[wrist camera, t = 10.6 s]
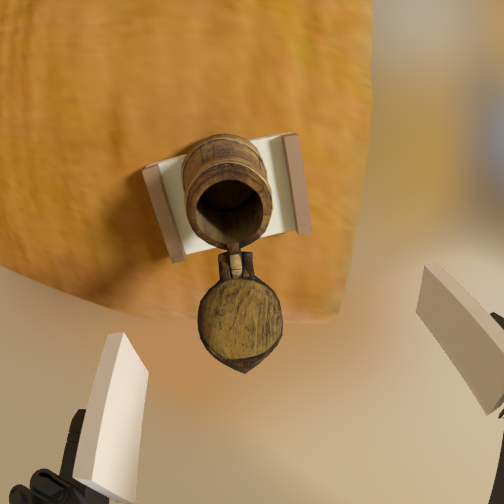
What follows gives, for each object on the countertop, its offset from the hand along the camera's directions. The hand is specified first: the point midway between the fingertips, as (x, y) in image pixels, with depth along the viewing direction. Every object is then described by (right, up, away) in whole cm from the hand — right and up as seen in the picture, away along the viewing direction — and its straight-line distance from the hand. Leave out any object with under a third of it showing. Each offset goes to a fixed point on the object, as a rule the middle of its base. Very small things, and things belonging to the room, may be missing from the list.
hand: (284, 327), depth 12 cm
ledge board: (-4, +10, +21) cm, 24 cm away
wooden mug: (-4, +9, +20) cm, 23 cm away
